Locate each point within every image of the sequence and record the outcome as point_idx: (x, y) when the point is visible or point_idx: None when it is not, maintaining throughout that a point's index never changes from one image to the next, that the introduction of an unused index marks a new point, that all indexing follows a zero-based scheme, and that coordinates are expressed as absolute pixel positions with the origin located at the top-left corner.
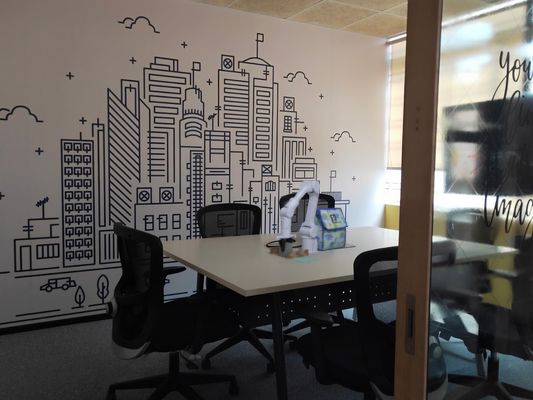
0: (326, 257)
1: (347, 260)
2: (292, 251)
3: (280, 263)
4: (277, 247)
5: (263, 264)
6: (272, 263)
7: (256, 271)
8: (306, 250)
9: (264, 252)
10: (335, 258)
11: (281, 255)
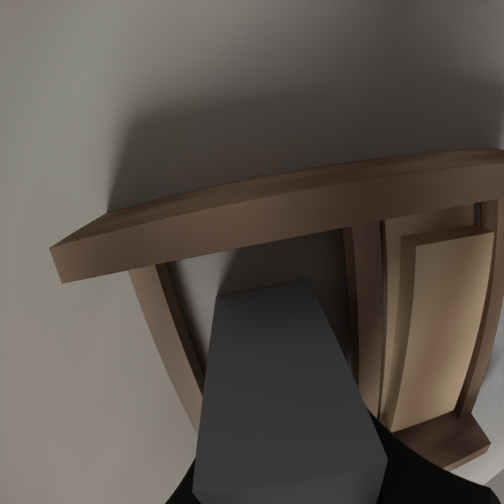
0: (497, 436)
1: (489, 477)
2: (452, 310)
3: (115, 498)
4: (241, 246)
5: (17, 462)
6: (66, 478)
7: (5, 492)
8: (460, 461)
9: (105, 30)
10: (499, 453)
11: (191, 421)
